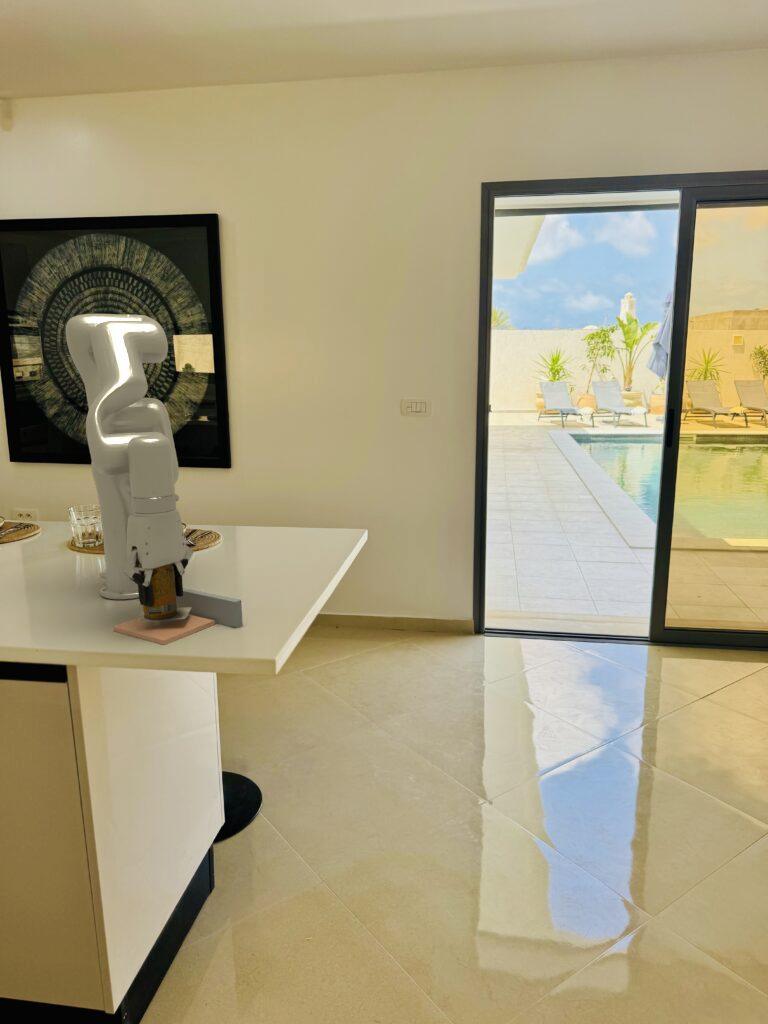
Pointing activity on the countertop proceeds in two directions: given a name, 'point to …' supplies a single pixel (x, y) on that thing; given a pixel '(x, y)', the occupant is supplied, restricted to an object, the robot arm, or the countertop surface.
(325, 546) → the countertop surface
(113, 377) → the robot arm
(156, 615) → the condiment
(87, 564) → the countertop surface
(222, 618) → the low wall
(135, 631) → the tile pad
